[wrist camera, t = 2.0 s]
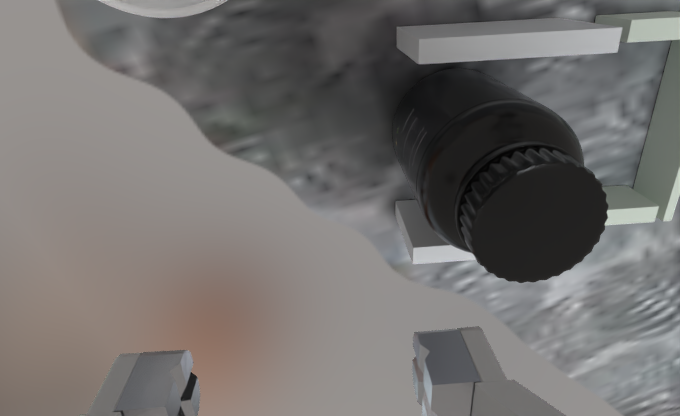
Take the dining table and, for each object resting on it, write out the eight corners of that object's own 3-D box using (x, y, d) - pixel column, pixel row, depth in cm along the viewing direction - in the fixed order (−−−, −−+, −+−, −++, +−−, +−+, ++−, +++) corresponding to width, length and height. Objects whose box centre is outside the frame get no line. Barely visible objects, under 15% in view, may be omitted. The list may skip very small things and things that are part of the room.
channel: (396, 26, 24) (419, 39, 19) (558, 17, 24) (622, 27, 19) (395, 215, 29) (412, 264, 24) (529, 205, 29) (574, 252, 24)
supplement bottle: (513, 60, 25) (668, 122, 14) (501, 176, 28) (620, 300, 17) (387, 69, 25) (446, 139, 14) (388, 185, 28) (438, 316, 17)
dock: (596, 15, 24) (632, 19, 21) (689, 10, 24) (736, 13, 21) (560, 203, 29) (586, 226, 26) (638, 198, 29) (671, 220, 26)
